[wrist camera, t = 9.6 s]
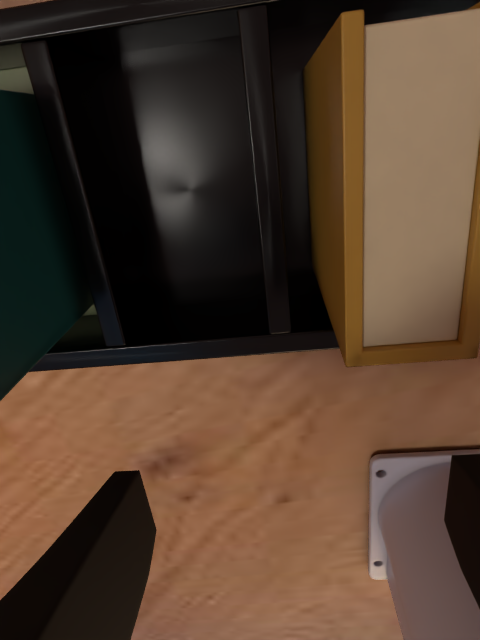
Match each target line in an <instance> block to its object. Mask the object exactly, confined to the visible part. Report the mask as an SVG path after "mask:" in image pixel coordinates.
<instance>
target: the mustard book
mask: <svg viewBox="0 0 480 640" xmlns="http://www.w3.org/2000/svg"><path fill="white" fill-rule="evenodd" d="M303 88H304V109H305V130H306V151H307V172H308V193H309V214H310V235H311V256H312V267H313V270H314V273H315V276H316V279H317V282H318V285H319V288H320V291H321V294H322V297H323V300H324V303H325V306H326V309H327V312H328V315H329V318H330V321H331V324H332V327H333V330H334V333H335V336H336V339H337V342H338V345H339V348H340V351H341V354H342V357H343V360H344V363H345V365H346V367H357V366H371V365H385V364H399V363H413V362H428V361H442V360H456V359H470V358H477V357H478V349H479V342H480V2H479V3H477V4H475V5H474V6H472V7H470V8H468V9H467V10H463V11H457V12H450V13H443V14H437V15H430V16H423V17H417V18H410V19H403V20H397V21H390V22H383V23H377V24H370V25H365V26H364V10H362V9H360V10H354V11H347V12H343V13H341V14H340V16H339V17H338V19H337V20H336V22H335V23H334V25H333V26H332V28H331V29H330V31H329V32H328V34H327V35H326V37H325V38H324V39H323V41H322V42H321V44H320V45H319V47H318V48H317V50H316V51H315V53H314V54H313V56H312V57H311V59H310V60H309V62H308V63H307V65H306V66H305V68H304V69H303Z"/></svg>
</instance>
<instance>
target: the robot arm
mask: <svg viewBox="0 0 480 640" xmlns="http://www.w3.org/2000/svg"><path fill="white" fill-rule="evenodd" d="M379 470H383V471H381V472H377V471H379ZM155 536H156V527H155V523H154V520H153V516H152V513H151V509H150V506H149V502H148V499H147V496H146V492H145V489H144V485H143V482H142V478H141V475H140V471H139V470H138V471H118V472H114V473H113V474H112V476H111V477H110V478H109V479H108V480H107V481H106V482H105V484H104V485H103V486H102V487H101V488H100V490H99V491H98V492H97V493H96V494H95V495H94V497H93V498H92V499H91V500H90V501H89V503H88V504H87V505H86V506H85V507H84V509H83V510H82V511H81V512H80V513H79V514H78V516H77V517H76V518H75V519H74V520H73V522H72V523H71V524H70V525H69V526H68V527H67V528H66V530H65V531H64V532H63V533H62V534H61V535H60V536H59V538H58V539H57V540H56V541H55V542H54V543H53V544H52V546H51V547H50V548H49V549H48V550H47V551H46V552H45V554H44V555H43V556H42V557H41V558H40V559H39V560H38V561H37V562H36V563H35V564H34V565H33V567H32V568H31V569H30V570H29V571H28V572H27V573H26V574H25V575H24V576H23V577H22V578H21V579H20V580H19V581H18V582H17V584H16V585H15V586H14V587H13V588H12V589H11V590H10V591H9V592H8V593H7V594H6V595H5V596H4V597H3V598H2V599H1V600H0V640H131V636H132V633H133V629H134V626H135V622H136V619H137V615H138V612H139V608H140V605H141V601H142V598H143V594H144V591H145V587H146V583H147V580H148V576H149V571H150V565H151V560H152V554H153V548H154V542H155ZM368 572H369V575H370V577H371V578H373V579H377V580H381V579H388V583H389V587H390V591H391V594H392V598H393V602H394V606H395V609H396V613H397V617H398V620H399V624H400V628H401V632H402V635H403V639H404V640H480V449H473V450H452V451H432V452H412V453H392V454H378V455H375V456H373V457H372V458H371V459H370V468H369V534H368Z"/></svg>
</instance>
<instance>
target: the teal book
mask: <svg viewBox="0 0 480 640" xmlns="http://www.w3.org/2000/svg"><path fill="white" fill-rule="evenodd" d="M93 304H94V302H93V299H92V295H91V292H90V288H89V285H88V281H87V278H86V274H85V271H84V267H83V264H82V260H81V257H80V253H79V250H78V246H77V243H76V239H75V236H74V232H73V229H72V225H71V222H70V218H69V215H68V211H67V208H66V204H65V200H64V197H63V193H62V190H61V186H60V183H59V179H58V176H57V172H56V169H55V165H54V162H53V158H52V155H51V151H50V148H49V144H48V141H47V137H46V134H45V130H44V127H43V123H42V120H41V116H40V113H39V109H38V106H37V102H36V99H35V95H34V94H30V93H23V92H16V91H8V90H1V89H0V401H1V400H2V399H3V398H4V397H5V396H6V395H7V393H8V392H9V391H10V390H11V389H12V388H13V387H14V386H15V385H16V384H17V383H18V382H19V381H20V380H21V379H22V378H23V377H24V376H25V375H26V374H27V373H28V372H29V371H30V370H31V369H32V367H33V366H34V365H35V364H36V363H37V362H38V361H39V360H40V359H41V358H42V357H43V356H44V355H45V354H46V353H47V352H48V351H49V350H50V349H51V348H52V347H53V346H54V345H55V344H56V343H57V341H58V340H59V339H60V338H61V337H62V336H63V335H64V334H65V333H66V332H67V331H68V330H69V329H70V328H71V327H72V326H73V325H74V324H75V323H76V322H77V321H78V320H79V319H80V318H81V317H82V315H83V314H84V313H85V312H86V311H87V310H88V309H89V308H90V307H91V306H92V305H93Z"/></svg>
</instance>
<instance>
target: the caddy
mask: <svg viewBox="0 0 480 640" xmlns="http://www.w3.org/2000/svg"><path fill="white" fill-rule="evenodd" d="M479 2H480V0H52V1H46V2H40V3H34V4H28V5H22V6H16V7H10V8H4V9H0V89H1V90H8V91H16V92H23V93H30V94H34V95H35V99H36V102H37V106H38V109H39V113H40V116H41V120H42V123H43V127H44V130H45V134H46V137H47V141H48V144H49V148H50V151H51V155H52V158H53V162H54V165H55V169H56V172H57V176H58V179H59V183H60V186H61V190H62V193H63V197H64V200H65V204H66V208H67V211H68V215H69V218H70V222H71V225H72V229H73V232H74V236H75V239H76V243H77V246H78V250H79V253H80V257H81V260H82V264H83V267H84V271H85V274H86V278H87V281H88V285H89V288H90V292H91V295H92V299H93V302H94V304H93V305H92V306H91V307H90V308H89V309H88V310H87V311H86V312H85V313H84V314H83V315H82V317H81V318H80V319H79V320H78V321H77V322H76V323H75V324H74V325H73V326H72V327H71V328H70V329H69V330H68V331H67V332H66V333H65V334H64V335H63V336H62V337H61V338H60V339H59V340H58V341H57V343H56V344H55V345H54V346H53V347H52V348H51V349H50V350H49V351H48V352H47V353H46V354H45V355H44V356H43V357H42V358H41V359H40V360H39V361H38V362H37V363H36V364H35V365H34V366H33V367H32V369H31V370H30V371H29V372H35V371H48V370H61V369H75V368H88V367H101V366H114V365H128V364H141V363H154V362H168V361H181V360H194V359H208V358H221V357H234V356H248V355H261V354H274V353H288V352H301V351H314V350H327V349H340V348H339V345H338V342H337V339H336V336H335V333H334V330H333V327H332V324H331V321H330V318H329V315H328V312H327V309H326V306H325V303H324V300H323V297H322V294H321V291H320V288H319V285H318V282H317V279H316V276H315V273H314V270H313V267H312V256H311V235H310V214H309V193H308V172H307V151H306V130H305V109H304V88H303V69H304V68H305V66H306V65H307V63H308V62H309V60H310V59H311V57H312V56H313V54H314V53H315V51H316V50H317V48H318V47H319V45H320V44H321V42H322V41H323V39H324V38H325V37H326V35H327V34H328V32H329V31H330V29H331V28H332V26H333V25H334V23H335V22H336V20H337V19H338V17H339V16H340V14H341V13H343V12H347V11H354V10H360V9H362V10H364V26H365V25H370V24H377V23H383V22H390V21H397V20H403V19H410V18H417V17H423V16H430V15H437V14H443V13H450V12H457V11H463V10H467V9H468V8H470V7H472V6H474V5H475V4H477V3H479Z"/></svg>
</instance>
